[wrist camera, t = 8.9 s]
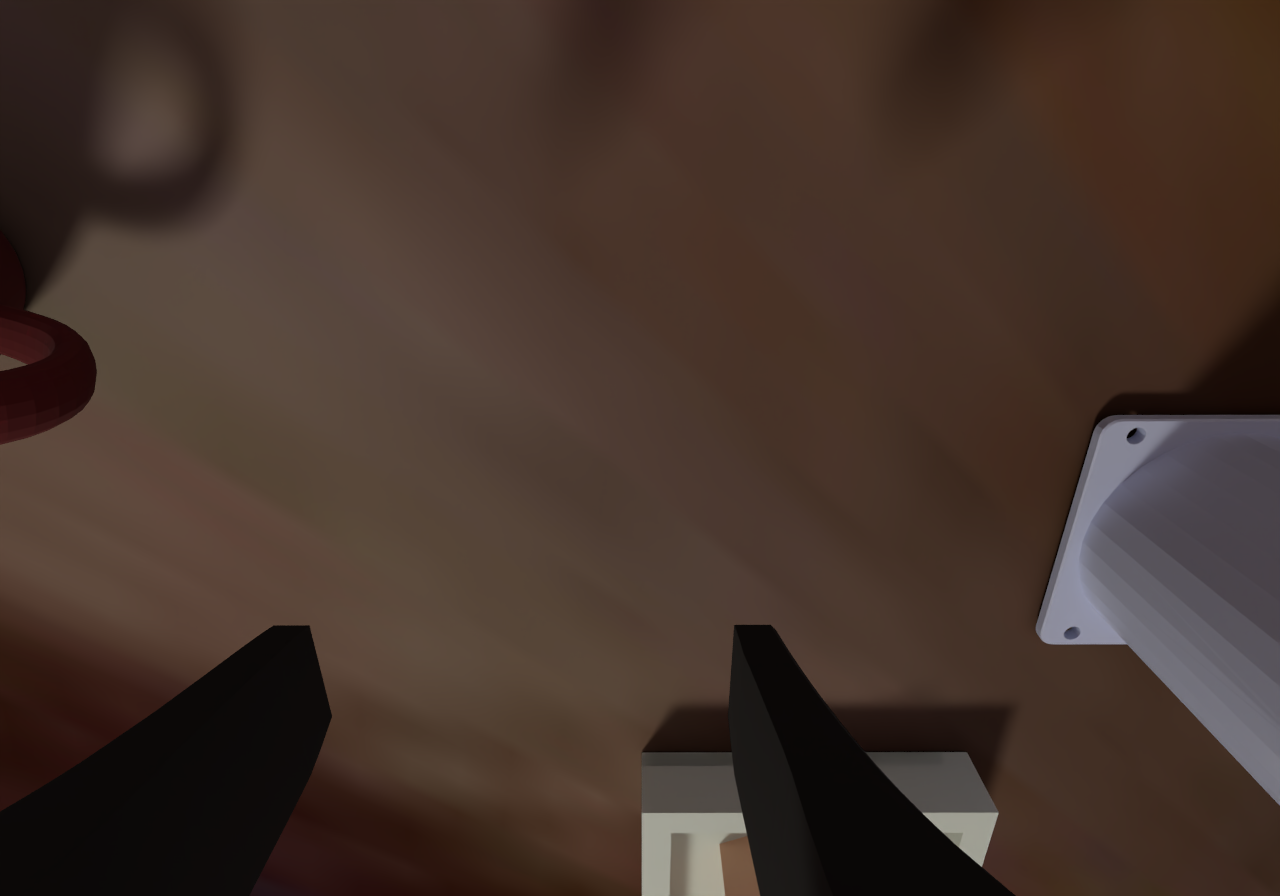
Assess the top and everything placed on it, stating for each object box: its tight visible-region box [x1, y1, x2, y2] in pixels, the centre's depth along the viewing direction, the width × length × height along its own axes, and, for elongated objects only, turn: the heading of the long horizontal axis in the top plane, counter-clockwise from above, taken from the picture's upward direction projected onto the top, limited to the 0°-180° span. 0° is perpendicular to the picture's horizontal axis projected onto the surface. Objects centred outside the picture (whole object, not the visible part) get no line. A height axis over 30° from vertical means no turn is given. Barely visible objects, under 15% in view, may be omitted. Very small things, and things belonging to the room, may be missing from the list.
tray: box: [642, 752, 999, 896], centre depth 27 cm, size 12×11×2 cm
